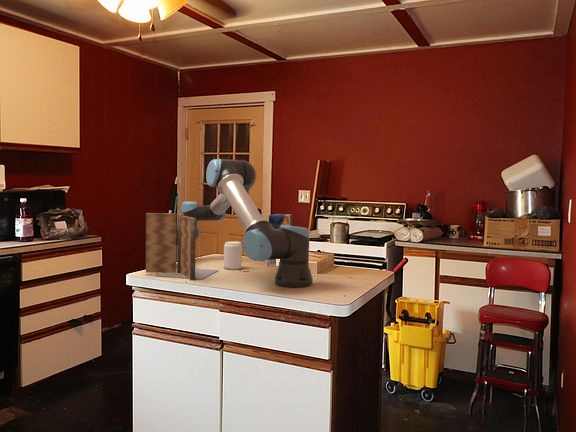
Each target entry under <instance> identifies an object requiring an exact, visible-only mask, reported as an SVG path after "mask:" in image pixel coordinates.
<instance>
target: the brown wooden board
mask: <svg viewBox="0 0 576 432" xmlns="http://www.w3.org/2000/svg"><path fill="white" fill-rule="evenodd" d="M177 223H178V212H177V213H173V212H171V213H169V212H168V213H167V212H165V213H164V212H162V213H161V212H158V213H157V212H147V213H145V273H146V274H149V273H151V274H154V273H155V274H157V273H158V274H161V273H169V272H176V267H177V245H176V229H177Z"/></svg>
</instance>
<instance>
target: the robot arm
mask: <svg viewBox="0 0 576 432" xmlns="http://www.w3.org/2000/svg"><path fill="white" fill-rule="evenodd" d="M205 177H206V178H205V179H206V183H207V185H208V186H209V187H212V188H214V187H215V189H217V192H218V193H219V194H218V196H217V197H216V198H215V199H213V201H212V202H211V203H210V204H209V205H198V202H197V201H183V202H181V210H180V211H181V212H180V213H184V216H187V217H192V218H196V240H198V239H199V237H200V235H201V231H200V229H199V227H198V222H204V221H205V222H208V221H214V222H215V221H216V222H217V221H223V220H224V219H225V218H226V217H225V216H226V211H228V209H229V208H232V210H233V212H234V214H235V216H236V218H237V219H238V221H239V223H240V225H241V226H242V228H243V230H244V233H243V237H242V249H243V251H244V253H245V254H246V256H247V257H248V258H249V259H250V260H252V261H255V262H266V261H268V260H274V259H280V262H279V267H277V269H276V273H275V276H274V284H275V285H277V286H280V287H286V288H306V287H310V286H312V285H313V275H312V272H311V269H310V264H309V262H310V261H309V259H310V239H311V238H310V230H309V229H308V228H306V227H302V226H295V225H292V226H288V225H281V226H280V229H274V228H273V227H272V225H271V223H270V222H269V220H266V219H264V218H263V216H262V215H261V213H260V211H259V209H258V208H257V206H256V204H255V203H254V201H253V199H252V198H251V196H250V195H249V193H248V191H250V190H251V189H252V188H253V187H254V185H255V184H256V182H257V181H256V180H257V171H256V169H255V167H254V166H253V164H251V163H250V162H249V161H247V160H245V159H224V158H218V159H217V158H215V159H212V160H210V162H209V163H208V165H207V168H206V175H205ZM177 243H178V228H176V246H177Z"/></svg>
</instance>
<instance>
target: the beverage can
mask: <svg viewBox="0 0 576 432" xmlns="http://www.w3.org/2000/svg"><path fill="white" fill-rule="evenodd" d="M242 266H243V243H242V242H241V241H226V242H225V243H224V245H223V268H224V269H226V270H230V271H233V270H234V271H235V270H240V269H241V268H242Z"/></svg>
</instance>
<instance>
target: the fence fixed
mask: <svg viewBox="0 0 576 432" xmlns="http://www.w3.org/2000/svg"><path fill="white" fill-rule="evenodd" d="M177 229H178V243H177V245H176V267H177V273H181V274H182V275H185V276H187V277H188V278H189V280H190V281H195V280H196V279H195V269H196V240H197V239H196V218H192V217H187V216H184V213H181V212H177Z"/></svg>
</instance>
